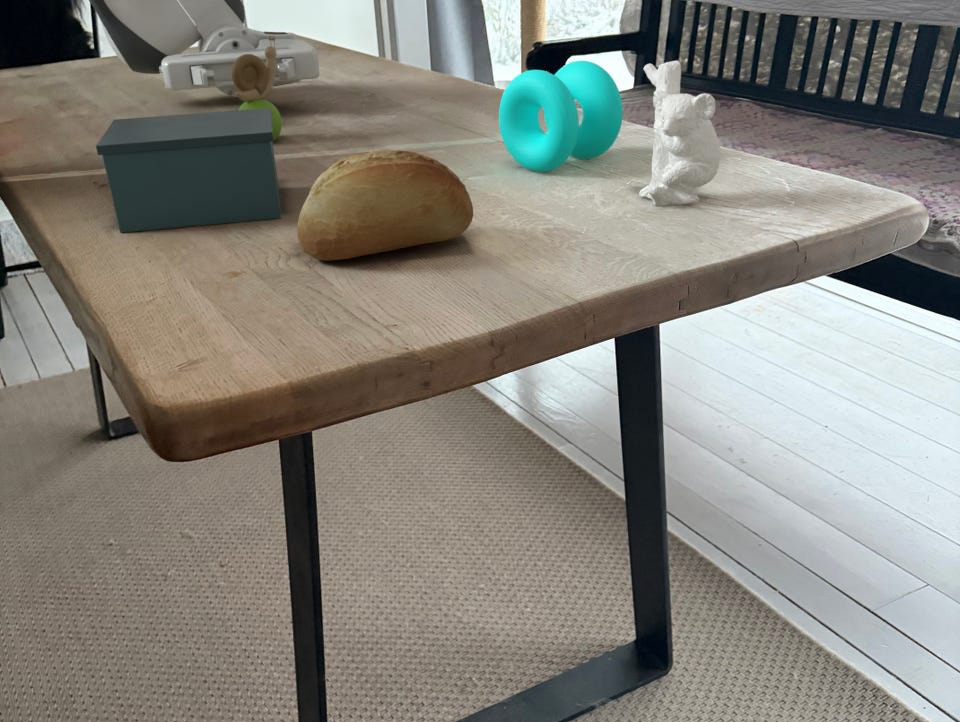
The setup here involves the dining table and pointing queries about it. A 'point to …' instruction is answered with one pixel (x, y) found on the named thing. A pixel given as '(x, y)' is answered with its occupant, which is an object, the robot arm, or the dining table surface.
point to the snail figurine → (257, 83)
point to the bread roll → (382, 205)
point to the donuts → (560, 115)
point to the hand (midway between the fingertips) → (247, 75)
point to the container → (191, 169)
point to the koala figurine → (680, 139)
